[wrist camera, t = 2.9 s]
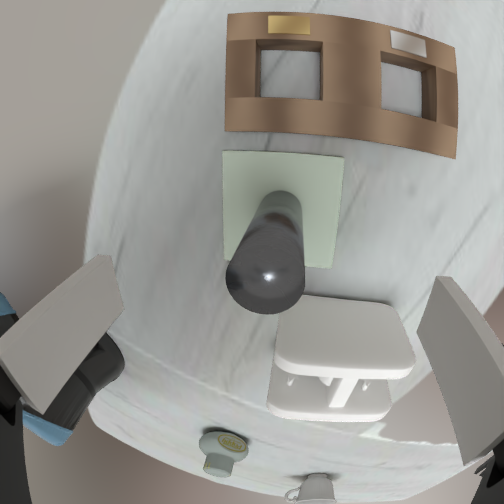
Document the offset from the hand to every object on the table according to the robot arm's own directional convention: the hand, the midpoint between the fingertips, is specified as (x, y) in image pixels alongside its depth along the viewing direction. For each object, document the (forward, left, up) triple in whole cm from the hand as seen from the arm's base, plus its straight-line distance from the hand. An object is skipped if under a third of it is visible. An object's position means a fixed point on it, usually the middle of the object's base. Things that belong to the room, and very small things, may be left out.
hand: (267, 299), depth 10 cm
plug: (-1, -2, -19) cm, 19 cm away
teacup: (+15, -77, -19) cm, 81 cm away
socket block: (+5, +12, -19) cm, 23 cm away
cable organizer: (+7, -17, -20) cm, 27 cm away
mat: (-1, -2, -19) cm, 19 cm away
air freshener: (-9, -53, -20) cm, 57 cm away
